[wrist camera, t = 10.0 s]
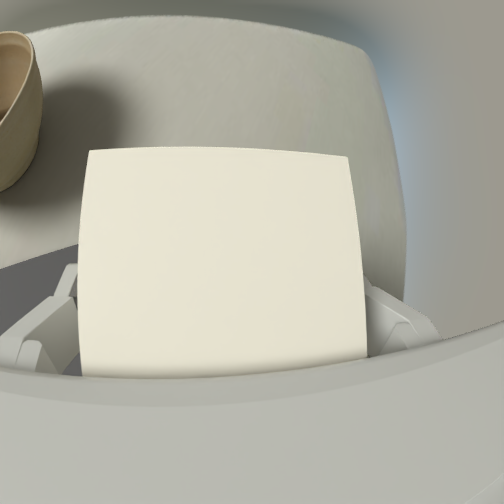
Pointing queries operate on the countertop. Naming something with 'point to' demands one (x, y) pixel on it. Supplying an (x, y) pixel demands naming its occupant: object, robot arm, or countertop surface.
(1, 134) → the planter bowl
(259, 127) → the countertop surface
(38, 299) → the mat
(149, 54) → the countertop surface
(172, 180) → the white rectangular block
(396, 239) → the countertop surface
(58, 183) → the countertop surface
